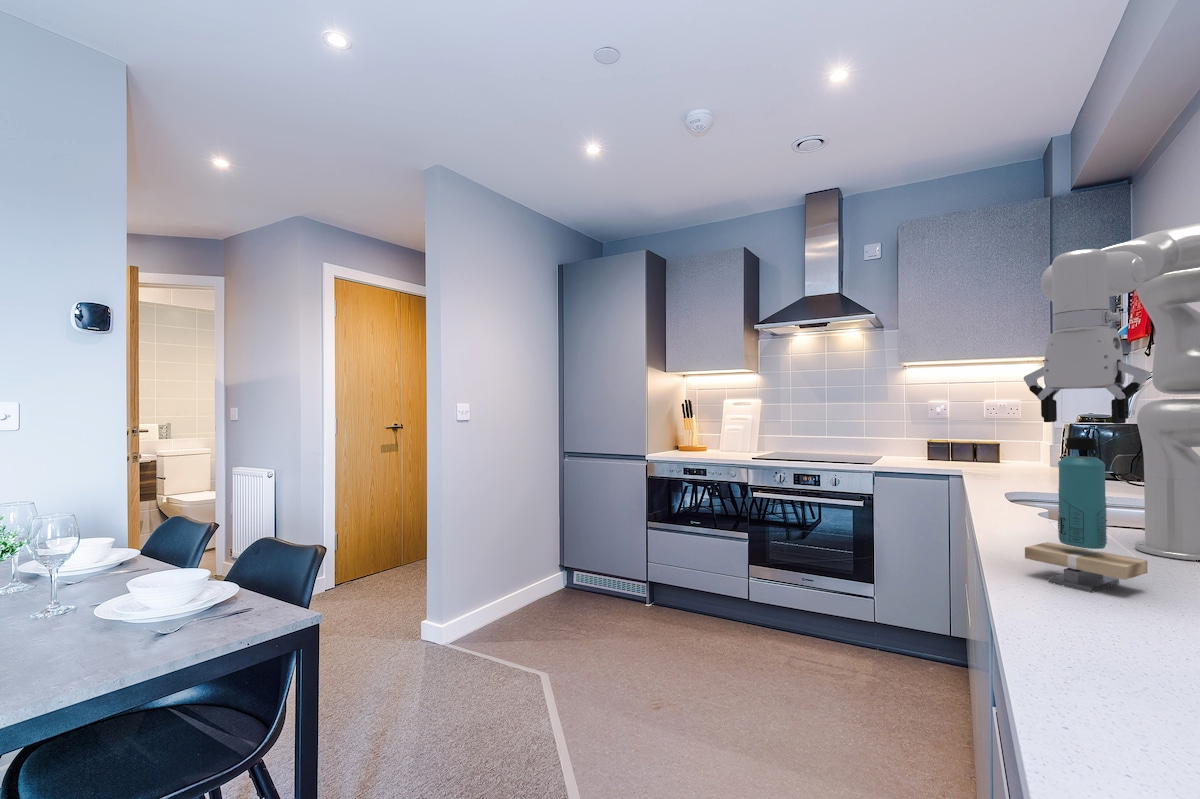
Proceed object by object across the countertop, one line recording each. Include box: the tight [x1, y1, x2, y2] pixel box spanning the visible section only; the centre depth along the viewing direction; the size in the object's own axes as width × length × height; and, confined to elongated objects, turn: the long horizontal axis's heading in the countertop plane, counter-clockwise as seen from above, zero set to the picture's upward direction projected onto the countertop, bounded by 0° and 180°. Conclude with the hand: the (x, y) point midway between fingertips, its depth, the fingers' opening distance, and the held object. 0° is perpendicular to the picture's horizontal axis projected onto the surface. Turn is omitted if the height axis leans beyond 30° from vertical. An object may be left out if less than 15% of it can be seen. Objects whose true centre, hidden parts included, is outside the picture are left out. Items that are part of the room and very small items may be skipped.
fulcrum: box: [1048, 567, 1120, 593], centre depth 97 cm, size 10×6×3 cm, turn 118°
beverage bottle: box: [1057, 436, 1108, 550], centre depth 98 cm, size 6×7×20 cm
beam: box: [1024, 541, 1148, 581], centre depth 97 cm, size 8×14×2 cm, turn 28°
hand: (1083, 422), depth 98 cm, fingers open, 9 cm apart
